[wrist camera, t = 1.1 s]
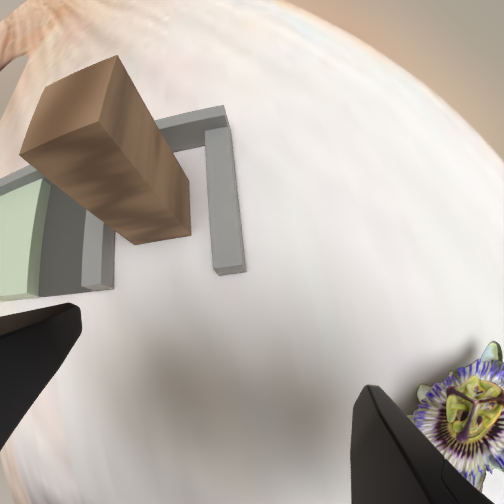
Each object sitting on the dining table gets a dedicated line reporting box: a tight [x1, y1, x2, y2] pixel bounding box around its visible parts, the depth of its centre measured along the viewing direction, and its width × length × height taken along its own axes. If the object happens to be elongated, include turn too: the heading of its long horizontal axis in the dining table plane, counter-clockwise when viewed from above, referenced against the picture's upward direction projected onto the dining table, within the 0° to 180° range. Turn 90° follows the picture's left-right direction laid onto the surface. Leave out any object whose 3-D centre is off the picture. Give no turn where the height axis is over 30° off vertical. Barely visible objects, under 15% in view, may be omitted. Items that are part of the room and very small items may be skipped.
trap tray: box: [0, 105, 246, 301], centre depth 24 cm, size 32×13×4 cm, turn 96°
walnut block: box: [19, 55, 191, 245], centre depth 18 cm, size 5×5×14 cm
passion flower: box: [406, 341, 504, 493], centre depth 14 cm, size 11×11×12 cm
